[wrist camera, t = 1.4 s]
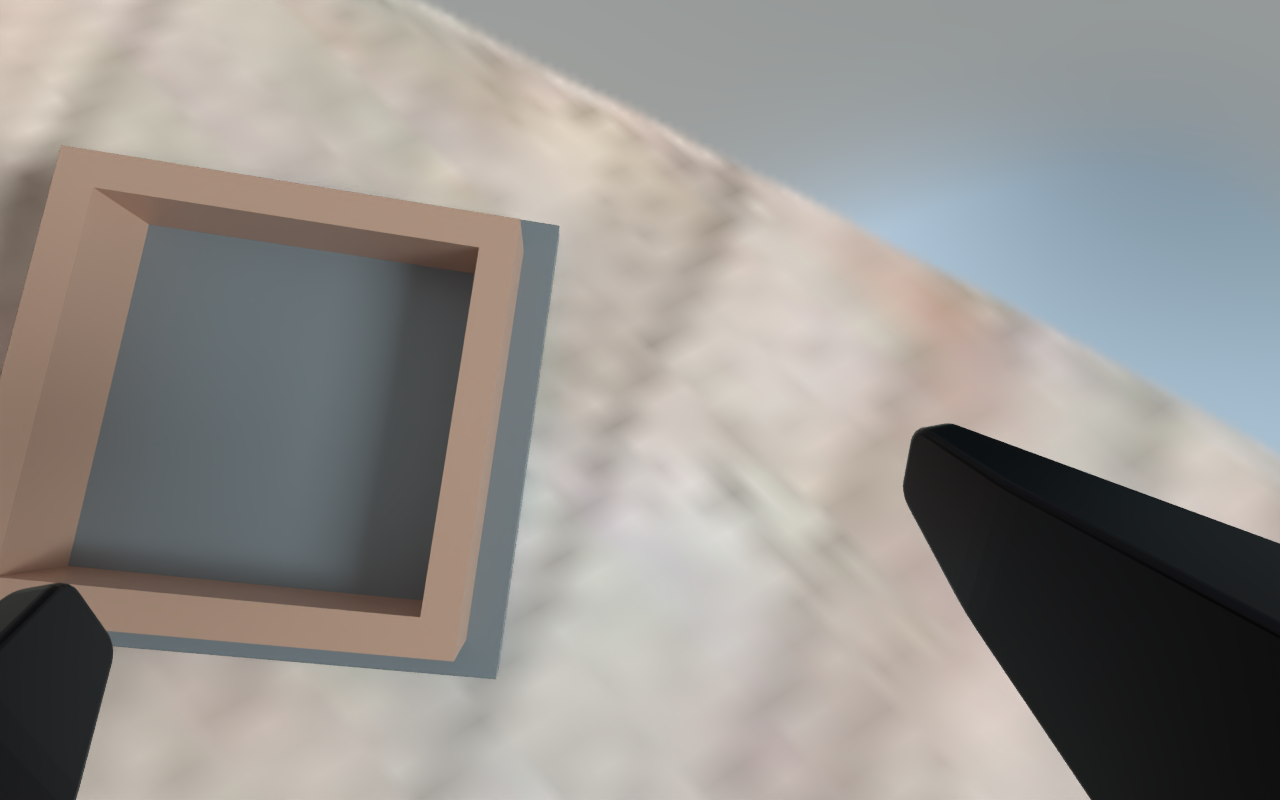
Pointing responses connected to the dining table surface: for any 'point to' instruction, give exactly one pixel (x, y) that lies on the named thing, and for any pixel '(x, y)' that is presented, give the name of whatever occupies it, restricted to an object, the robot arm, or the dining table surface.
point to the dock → (272, 415)
